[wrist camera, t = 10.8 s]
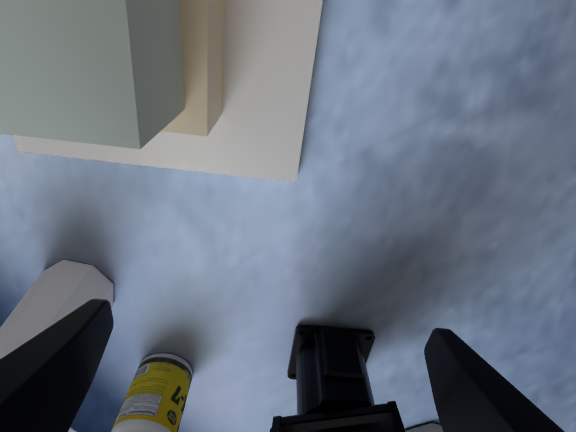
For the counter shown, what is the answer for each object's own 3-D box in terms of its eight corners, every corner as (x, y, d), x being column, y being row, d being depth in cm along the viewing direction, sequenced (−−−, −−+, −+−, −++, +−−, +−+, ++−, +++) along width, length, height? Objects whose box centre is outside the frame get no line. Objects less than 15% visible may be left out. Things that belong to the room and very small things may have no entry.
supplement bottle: (195, 386, 32) (168, 494, 25) (144, 384, 32) (102, 492, 25) (191, 351, 30) (160, 460, 22) (136, 350, 29) (86, 459, 22)
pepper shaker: (62, 316, 27) (-57, 475, 18) (28, 262, 25) (-135, 416, 15) (127, 309, 27) (41, 467, 18) (99, 254, 24) (-21, 406, 15)
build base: (295, 175, 21) (298, 216, 17) (29, 146, 20) (-41, 180, 16) (339, -131, 14) (362, -194, 10) (-63, -199, 13) (-230, -302, 9)
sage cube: (184, 109, 14) (140, 149, 10) (61, 95, 14) (-39, 129, 10) (179, -36, 12) (119, -66, 8) (30, -58, 12) (-122, -103, 7)
